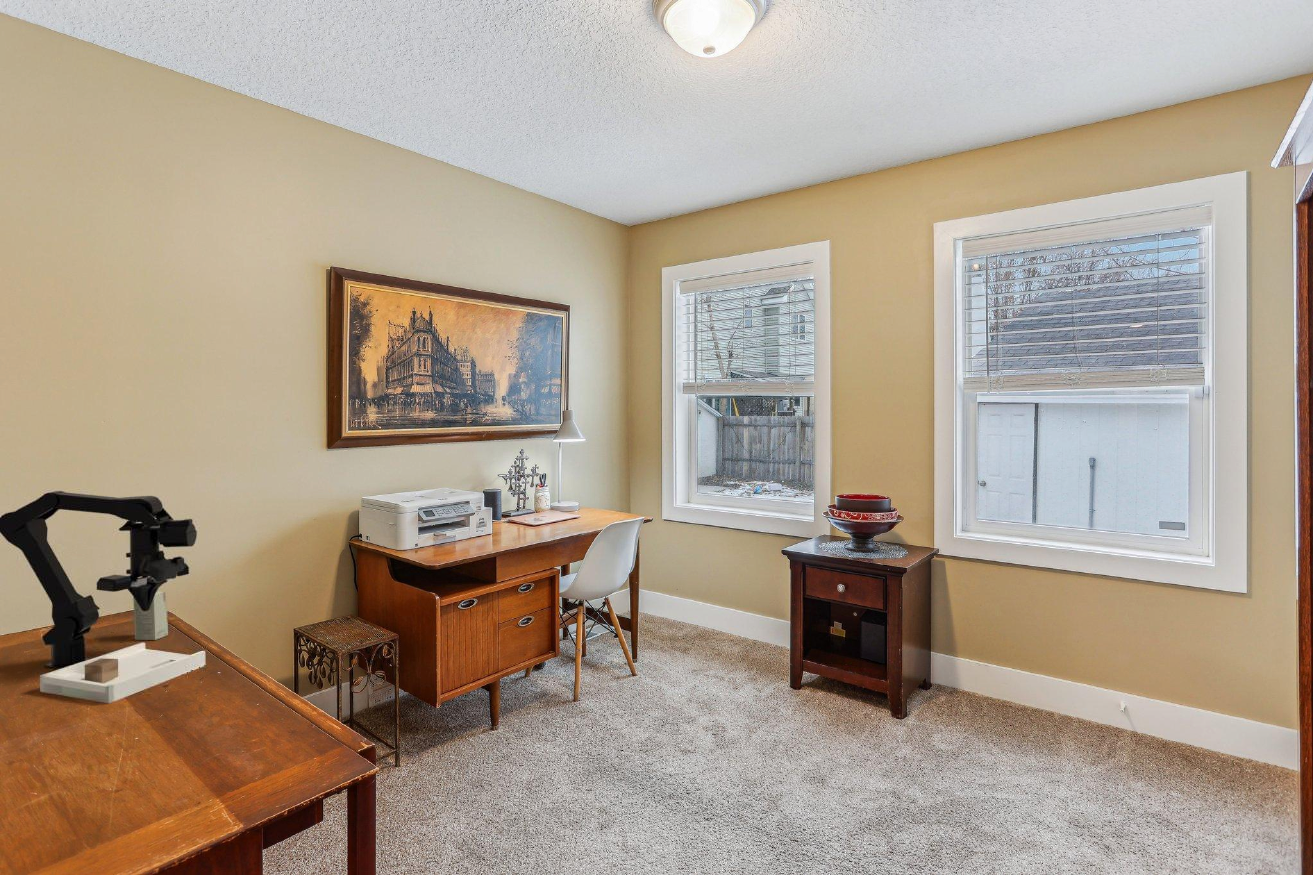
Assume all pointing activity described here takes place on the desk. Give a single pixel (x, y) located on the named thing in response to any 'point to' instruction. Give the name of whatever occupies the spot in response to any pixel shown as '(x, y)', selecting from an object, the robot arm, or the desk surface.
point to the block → (101, 670)
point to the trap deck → (121, 674)
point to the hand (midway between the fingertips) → (145, 610)
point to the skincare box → (151, 619)
